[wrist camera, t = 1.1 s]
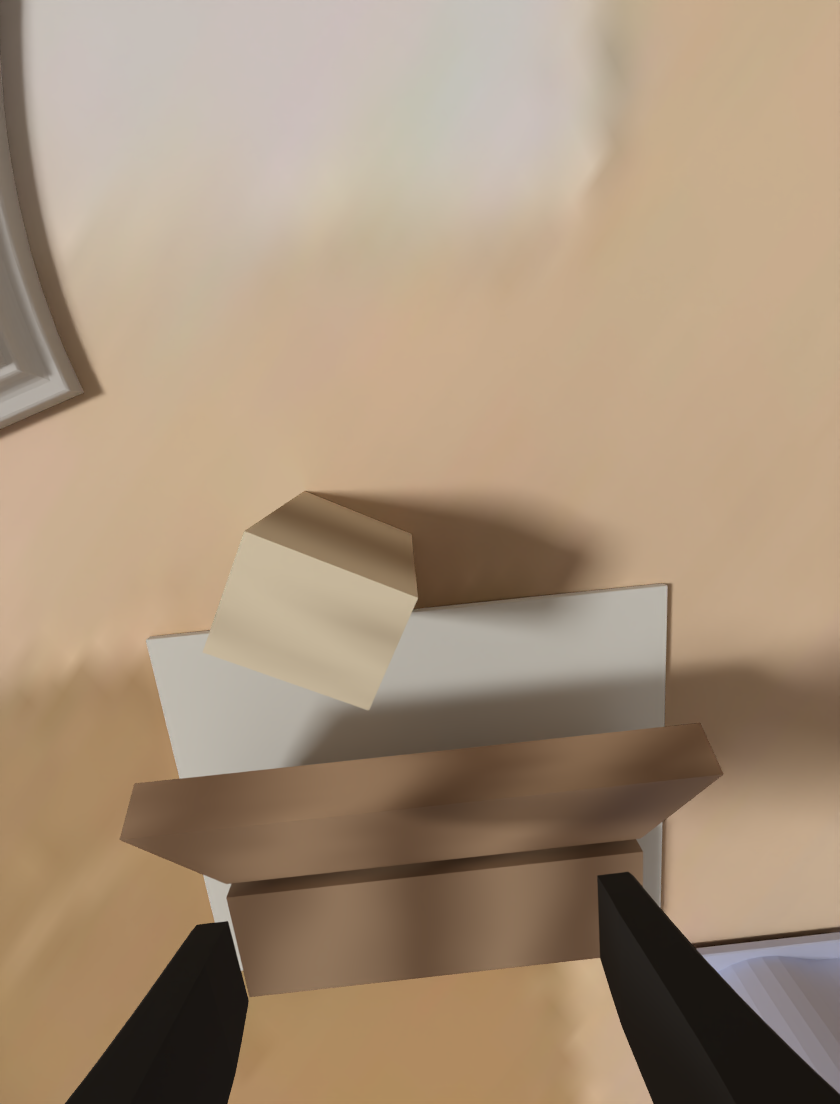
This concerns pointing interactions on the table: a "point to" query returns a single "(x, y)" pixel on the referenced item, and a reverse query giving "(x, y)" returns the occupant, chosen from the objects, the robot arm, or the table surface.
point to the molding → (25, 314)
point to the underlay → (433, 692)
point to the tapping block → (317, 599)
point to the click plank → (422, 805)
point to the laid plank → (424, 917)
